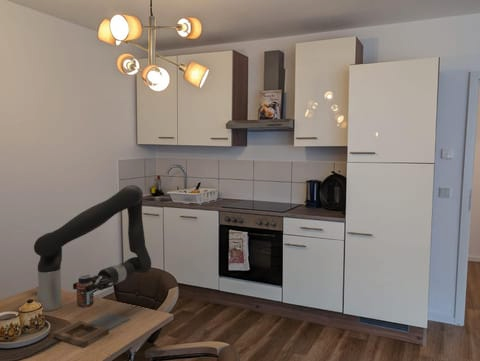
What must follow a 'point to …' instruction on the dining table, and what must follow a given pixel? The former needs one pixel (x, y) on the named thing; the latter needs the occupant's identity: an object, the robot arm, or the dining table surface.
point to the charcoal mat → (109, 320)
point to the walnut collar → (86, 340)
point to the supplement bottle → (84, 297)
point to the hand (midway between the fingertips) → (79, 288)
